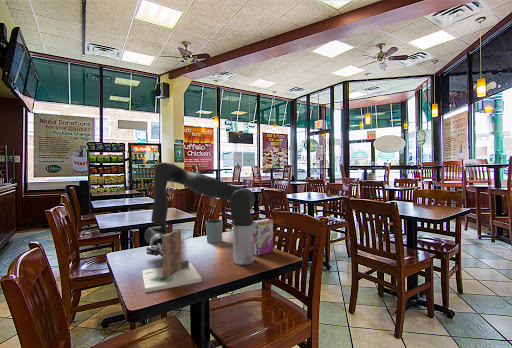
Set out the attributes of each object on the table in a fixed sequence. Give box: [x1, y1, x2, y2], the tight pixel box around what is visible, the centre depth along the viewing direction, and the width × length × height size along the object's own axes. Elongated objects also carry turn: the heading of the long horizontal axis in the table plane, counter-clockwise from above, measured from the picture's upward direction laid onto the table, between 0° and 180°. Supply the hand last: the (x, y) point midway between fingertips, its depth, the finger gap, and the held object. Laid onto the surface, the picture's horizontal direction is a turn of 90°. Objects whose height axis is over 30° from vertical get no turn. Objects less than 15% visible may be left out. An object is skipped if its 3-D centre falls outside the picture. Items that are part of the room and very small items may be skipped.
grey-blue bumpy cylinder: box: [205, 219, 224, 245], centre depth 163 cm, size 10×10×12 cm
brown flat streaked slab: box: [160, 229, 190, 280], centre depth 112 cm, size 17×4×16 cm, turn 162°
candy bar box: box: [253, 218, 274, 257], centre depth 141 cm, size 11×5×16 cm, turn 131°
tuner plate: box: [141, 262, 203, 294], centre depth 111 cm, size 20×18×2 cm
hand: (165, 254), depth 108 cm, fingers closed
